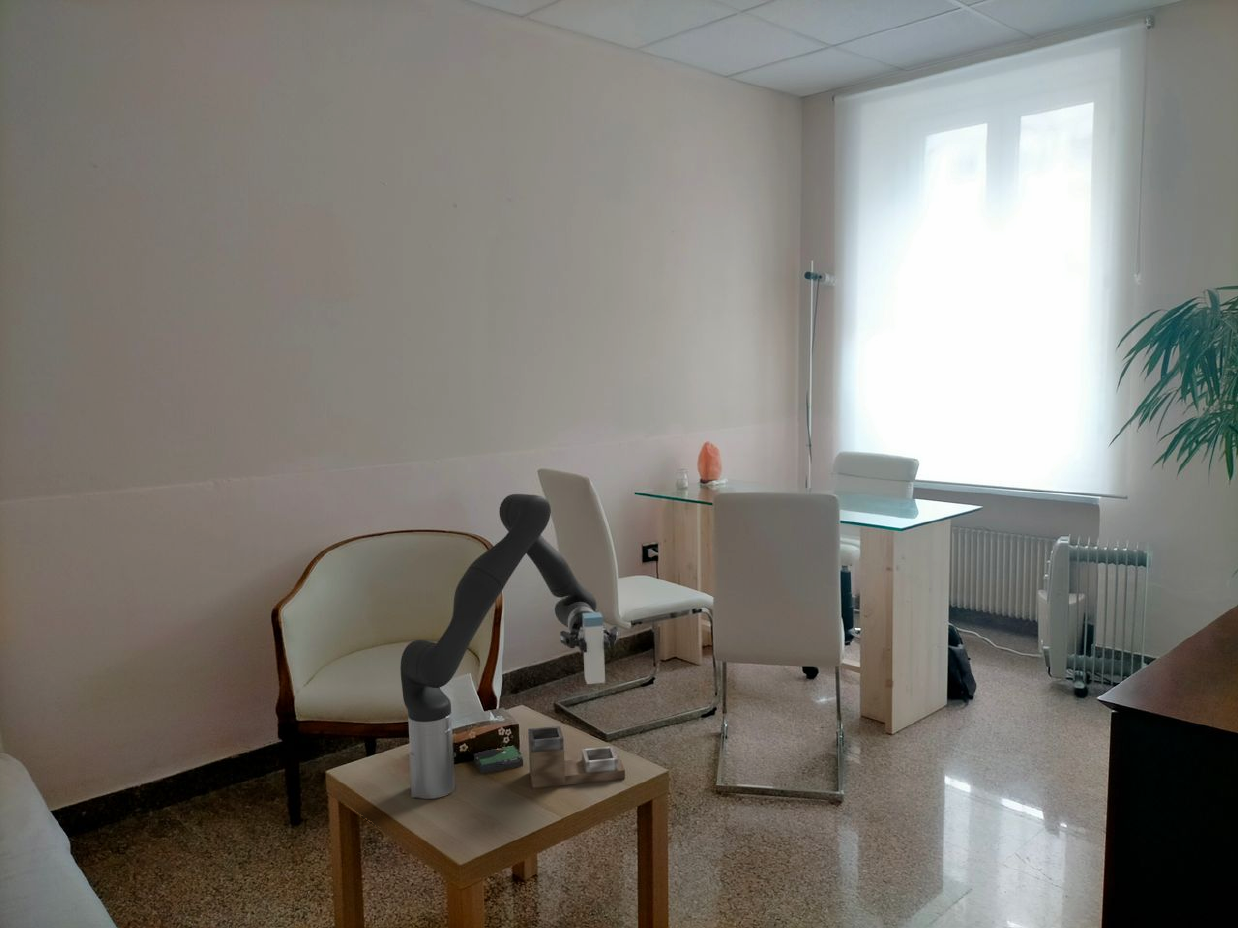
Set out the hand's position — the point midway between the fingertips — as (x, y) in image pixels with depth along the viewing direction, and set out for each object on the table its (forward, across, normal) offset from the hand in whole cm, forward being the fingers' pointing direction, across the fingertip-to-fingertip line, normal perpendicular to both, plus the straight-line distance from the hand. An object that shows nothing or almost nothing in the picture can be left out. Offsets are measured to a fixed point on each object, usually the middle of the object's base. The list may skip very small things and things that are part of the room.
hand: (595, 647), depth 206 cm
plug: (-3, 0, +8) cm, 9 cm away
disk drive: (-16, -23, +31) cm, 42 cm away
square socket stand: (-2, -6, +30) cm, 31 cm away
